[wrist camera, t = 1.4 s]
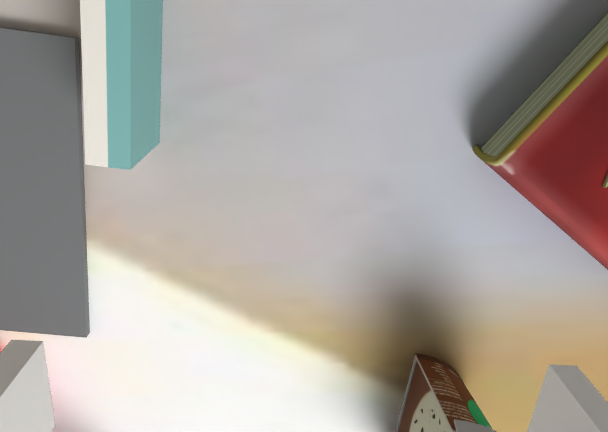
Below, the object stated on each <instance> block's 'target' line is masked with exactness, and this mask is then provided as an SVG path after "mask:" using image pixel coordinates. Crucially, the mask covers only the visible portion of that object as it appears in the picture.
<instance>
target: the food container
mask: <svg viewBox="0 0 608 432" xmlns="http://www.w3.org/2000/svg"><path fill="white" fill-rule="evenodd" d="M395 432H496V431H494V430H493V429H492V428H491V426H490V424H489V423H488V421H487V420H486V418H485V416H484V415H483V413H482V412H481V410H480V408H479V407H478V405H477V404H476V402H475V401H474V399H473V397H472V396H471V394H470V393H469V391H468V389H467V388H466V386H465V385H464V383H463V381H462V380H461V378H460V377H459V375H458V374H457V373H456V371H454V370H453V369H452V368H451V367H450V366H449V365H447V364H446V363H444V362H443V361H440V360H438V359H436V358H433V357H430V356H427V355H420V354H415V357H414V361H413V365H412V369H411V372H410V376H409V380H408V384H407V388H406V392H405V395H404V399H403V403H402V407H401V411H400V415H399V418H398V422H397V426H396V430H395Z"/></svg>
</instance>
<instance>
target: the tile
mask: <svg viewBox="0 0 608 432" xmlns="http://www.w3.org/2000/svg"><path fill="white" fill-rule="evenodd" d="M162 11H163V0H80V19H81V48H82V77H83V106H84V136H85V165H94V166H103V167H111V168H120V169H129V170H131V169H132V168H133V167H134V166H135V165H136V164H137V163H138V162H139V161H140V160H141V159H142V158H144V157H145V156H146V155H147V154H148V153H149V152H150V151H151V150H152V149H153V148H154V147H155V146H156V145H157V144H158V143H159V139H160V96H161V54H162Z"/></svg>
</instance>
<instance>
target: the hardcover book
mask: <svg viewBox="0 0 608 432" xmlns="http://www.w3.org/2000/svg"><path fill="white" fill-rule="evenodd" d="M473 151H474V153H475V154H476V155H477V156H478V157H479V158H480V159H481V160H483V161H484V162H485V163H486V164H487V165H488V166H489V167H491V168H492V169H493V170H494V171H495V172H496V173H498V174H499V175H500V176H501V177H502V178H503V179H504V180H506V181H507V182H508V183H509V184H510V185H511V186H512V187H514V188H515V189H516V190H517V191H518V192H519V193H520V194H522V195H523V196H524V197H525V198H526V199H527V200H528V201H530V202H531V203H532V204H533V205H534V206H535V207H537V208H538V209H539V210H540V211H541V212H542V213H543V214H545V215H546V216H547V217H548V218H549V219H550V220H551V221H553V222H554V223H555V224H556V225H557V226H558V227H559V228H561V229H562V230H563V231H564V232H565V233H566V234H568V235H569V236H570V237H571V238H572V239H573V240H574V241H576V242H577V243H578V244H579V245H580V246H581V247H582V248H584V249H585V250H586V251H587V252H588V253H589V254H590V255H592V256H593V257H594V258H595V259H596V260H597V261H599V262H600V263H601V264H602V265H603V266H604V267H605V268H607V269H608V13H607V14H606V15H605V16H604V17H603V18H602V19H601V20H600V21H599V22H598V24H597V25H596V26H595V27H594V28H593V29H592V30H591V31H590V32H589V33H588V34H587V35H586V36H585V37H584V39H583V40H582V41H581V42H580V43H579V44H578V45H577V46H576V47H575V48H574V49H573V50H572V51H571V52H570V53H569V55H568V56H567V57H566V58H565V59H564V60H563V61H562V62H561V63H560V64H559V65H558V66H557V67H556V68H555V70H554V71H553V72H552V73H551V74H550V75H549V76H548V77H547V78H546V79H545V80H544V81H543V82H542V83H541V84H540V86H539V87H538V88H537V89H536V90H535V91H534V92H533V93H532V94H531V95H530V96H529V97H528V98H527V99H526V101H525V102H524V103H523V104H522V105H521V106H520V107H519V108H518V109H517V110H516V111H515V112H514V113H513V114H512V116H511V117H510V118H509V119H508V120H507V121H506V122H505V123H504V124H503V125H502V126H501V127H500V128H499V129H498V130H497V132H496V133H495V134H494V135H493V136H492V137H491V138H490V139H489V140H488V141H487V142H486V143H485V144H484V145H483V147H482V148H480V147H479V146H478V145H476V146H475V147H474V148H473Z"/></svg>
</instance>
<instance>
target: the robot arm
mask: <svg viewBox="0 0 608 432" xmlns="http://www.w3.org/2000/svg"><path fill="white" fill-rule="evenodd" d="M54 427H55V419H54V412H53V405H52V398H51V391H50V385H49V378H48V371H47V364H46V357H45V351H44V344H43V341H26V340H11V341H10V342H9V343H8V345H7V346H6V347H5V348H4V349H3V350H2V351H1V353H0V432H52V430H53V429H54ZM527 432H608V402H607V401H606V400H605V399H604V397H603V396H602V395H601V394H600V393H599V391H598V390H597V389H596V388H595V387H594V386H593V384H592V383H591V382H590V381H589V380H588V378H587V377H586V376H585V375H584V374H583V372H582V371H581V370H580V369H579V368H578V366H572V365H550V364H549V367H548V370H547V373H546V376H545V379H544V382H543V385H542V388H541V391H540V394H539V397H538V400H537V403H536V406H535V409H534V412H533V415H532V418H531V421H530V424H529V427H528V430H527Z"/></svg>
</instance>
